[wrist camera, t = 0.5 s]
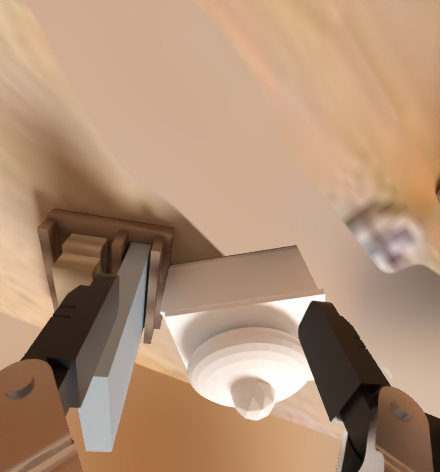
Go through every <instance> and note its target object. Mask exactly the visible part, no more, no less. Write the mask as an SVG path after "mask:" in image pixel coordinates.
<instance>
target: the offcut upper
mask: <svg viewBox="0 0 440 472" xmlns="http://www.w3.org/2000/svg"><path fill="white" fill-rule="evenodd" d="M51 269H52V275H53V280H54V285H55V290H56V296H57V301H58V306H60V304H61V302H62V301H63V299H64V298H65V297H66V295H67V294H68V293H69V292H71V291H72V290H73V289H75V288H76V287H78V286H79V285H87V286H90V284H91V283H92V281H93V279H94V278H95V276H96V275H97V274H98V273H101V260H100V258H96V257H89V256H82V255H75V254H67V253H62V255H61V256H60V257H59V258H58V260H57V261H56V262H55V263H54V265H53V266H52V267H51Z"/></svg>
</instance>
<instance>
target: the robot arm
mask: <svg viewBox="0 0 440 472" xmlns="http://www.w3.org/2000/svg"><path fill="white" fill-rule="evenodd" d="M118 309H119V276H118V275H111V274H103V273H98V274H97V275H96V276H95V278H94V279H93V281H92V283H91V284H90V286H87V285H79V286H78V287H76V288H75V289H73V290H72V291H71V292H69V293H68V294H67V295H66V297H65V298H64V299H63V301H62V302H61V304H60V306H59V307H58V308H57V309H56V311H55V312H54V314H53V317H51V318H50V320H49V321H48V322H47V324H46V325H45V327H44V328H43V330H42V331H41V332H40V334H39V335H38V337H37V338H36V340H35V341H34V343H33V344H32V345H31V347H30V348H29V350H28V351H27V353H26V354H25V356H24V357H23V358H22V359H21V360H20V361H19V362H16V363H13V364H11V365H9V366H7V367H6V368H4V369H3V370H1V371H0V472H83V470H82V467H81V463H80V459H79V456H78V453H77V449H76V446H75V443H74V441H73V440H72V438H71V435H70V432H69V428H68V424H67V421H66V414H67V412H68V410H69V408H70V407H75V408H81V406H82V403H83V401H84V398H85V396H86V393H87V391H88V388H89V386H90V383H91V381H92V378H93V376H94V373H95V371H96V368H97V366H98V363H99V361H100V358H101V356H102V353H103V351H104V348H105V346H106V343H107V341H108V338H109V336H110V333H111V331H112V328H113V326H114V323H115V321H116V318H117V314H118ZM298 338H299V341H300V344H301V346H302V349H303V352H304V354H305V357H306V359H307V362H308V365H309V367H310V370H311V372H312V375H313V378H314V380H315V383H316V385H317V388H318V391H319V393H320V396H321V399H322V401H323V404H324V406H325V409H326V412H327V414H328V417H329V419H330V422H331V423H344V425H345V428H346V431H345V432H344V433H343V437H342V442H341V447H340V452H339V457H338V462H337V468H336V472H440V419H439V418H437V417H434V416H432V415H429V414H427V413H424V412H423V410H422V409H421V408H420V406H419V405H418V404H417V403H416V402H415V401H414V400H413V399H412V398H411V397H410V396H409V395H407V394H406V393H404V392H403V391H401V390H399V389H397V388H394V387H391V385H390V384H389V382H388V381H387V379H386V378H385V376H384V375H383V373H382V371H381V370H380V368H379V367H378V365H377V364H376V362H375V360H374V359H373V358H372V356H371V354H370V353H369V351H368V350H367V349H366V346H365V345H364V343H363V342H362V340H360V337H359V335H358V334H357V332H356V331H355V329H354V328H353V326H352V325H351V324H350V323H349V322H347V320H346V319H345V318H344V317H342V316H340V315H339V313H338V312H337V310H336V308H335V307H334V305H333V304H332V303H330V302H323V301H315V300H314V301H311V302H310V304H309V306H308V308H307V310H306V312H305V314H304V316H303V318H302V320H301V322H300V324H299V327H298Z"/></svg>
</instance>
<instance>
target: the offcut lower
mask: <svg viewBox="0 0 440 472" xmlns="http://www.w3.org/2000/svg"><path fill="white" fill-rule="evenodd" d="M62 250H63V253H67V254H75V255H82V256H89V257H96V258H100V260H101V273H103V274H109V267H108V239H107V238H100V237H93V236H87V235H80V234H73V233H72V234H71V235H70V237H69V238H68V239H67V240H66V241H65V242H64V244H63V245H62Z"/></svg>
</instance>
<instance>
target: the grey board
mask: <svg viewBox="0 0 440 472" xmlns="http://www.w3.org/2000/svg"><path fill="white" fill-rule="evenodd" d="M151 248H152V245H147V244H140V243H134V242H131V245H130V247H129V249H128V251H127V253H126V256H125V258H124V260H123V262H122V264H121V267H120V269H119V271H118V273H117V275H118V276H119V309H118V314H117V318H116V321H115V323H114V326H113V328H112V331H111V333H110V336H109V338H108V341H107V343H106V346H105V348H104V351H103V353H102V356H101V358H100V361H99V363H98V366H97V368H96V371H95V373H94V376H93V378H92V381H91V383H90V386H89V388H88V391H87V393H86V396H85V398H84V401H83V403H82V406H81V408H78V411H79V417H80V422H81V427H82V432H83V437H84V443H85V448H86V451H101V452H104V451H105V452H112V448H113V444H114V440H115V436H116V432H117V429H118V425H119V421H120V417H121V413H122V409H123V405H124V401H125V398H126V394H127V390H128V386H129V382H130V378H131V374H132V370H133V366H134V363H135V359H136V355H137V351H138V347H139V343H140V339H141V335H142V331H143V328H144V324H145V319H146V307H147V294H148V282H149V270H150V258H151Z"/></svg>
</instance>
